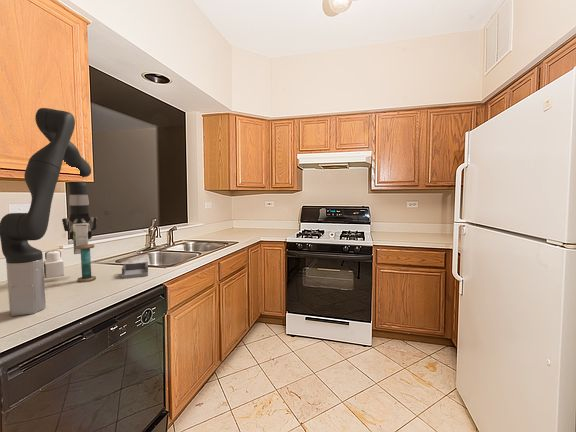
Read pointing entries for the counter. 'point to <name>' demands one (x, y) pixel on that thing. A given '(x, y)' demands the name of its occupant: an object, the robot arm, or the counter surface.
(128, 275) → the gray square tray
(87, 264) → the bobbin post
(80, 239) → the syrup box
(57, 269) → the medicine bottle
